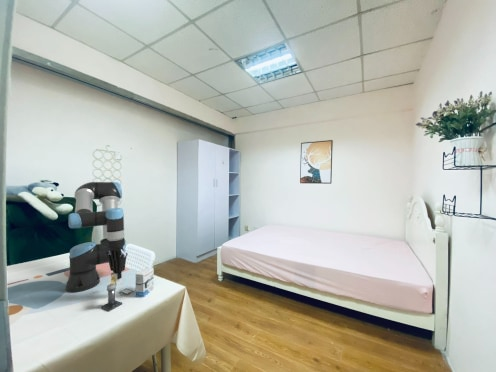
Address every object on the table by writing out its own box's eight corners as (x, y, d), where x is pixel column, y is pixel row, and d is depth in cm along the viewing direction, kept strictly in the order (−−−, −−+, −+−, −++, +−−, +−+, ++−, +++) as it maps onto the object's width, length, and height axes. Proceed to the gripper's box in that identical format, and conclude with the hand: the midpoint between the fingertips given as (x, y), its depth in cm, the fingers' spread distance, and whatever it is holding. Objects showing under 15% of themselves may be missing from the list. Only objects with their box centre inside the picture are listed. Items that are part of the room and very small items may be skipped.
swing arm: (106, 292, 94) (106, 287, 94) (109, 276, 110) (109, 273, 110) (115, 290, 96) (115, 286, 96) (117, 275, 111) (117, 271, 111)
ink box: (143, 297, 105) (143, 274, 104) (135, 296, 106) (134, 273, 105) (154, 288, 113) (154, 267, 113) (146, 288, 114) (146, 267, 114)
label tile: (119, 293, 109) (119, 291, 109) (126, 289, 112) (126, 288, 112) (126, 295, 106) (126, 294, 106) (133, 291, 110) (133, 290, 110)
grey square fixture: (101, 308, 96) (100, 291, 95) (113, 301, 101) (113, 285, 101) (109, 311, 93) (109, 294, 93) (122, 304, 99) (121, 287, 98)
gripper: (131, 237, 105) (133, 283, 106) (114, 235, 110) (116, 279, 111) (117, 242, 98) (119, 290, 99) (100, 239, 103) (102, 286, 104)
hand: (118, 284), depth 105 cm, fingers closed
